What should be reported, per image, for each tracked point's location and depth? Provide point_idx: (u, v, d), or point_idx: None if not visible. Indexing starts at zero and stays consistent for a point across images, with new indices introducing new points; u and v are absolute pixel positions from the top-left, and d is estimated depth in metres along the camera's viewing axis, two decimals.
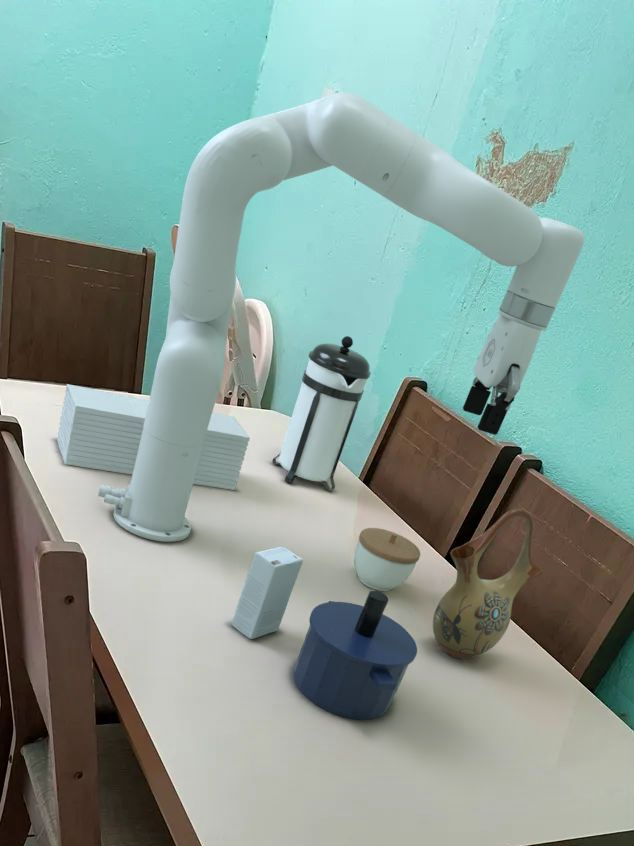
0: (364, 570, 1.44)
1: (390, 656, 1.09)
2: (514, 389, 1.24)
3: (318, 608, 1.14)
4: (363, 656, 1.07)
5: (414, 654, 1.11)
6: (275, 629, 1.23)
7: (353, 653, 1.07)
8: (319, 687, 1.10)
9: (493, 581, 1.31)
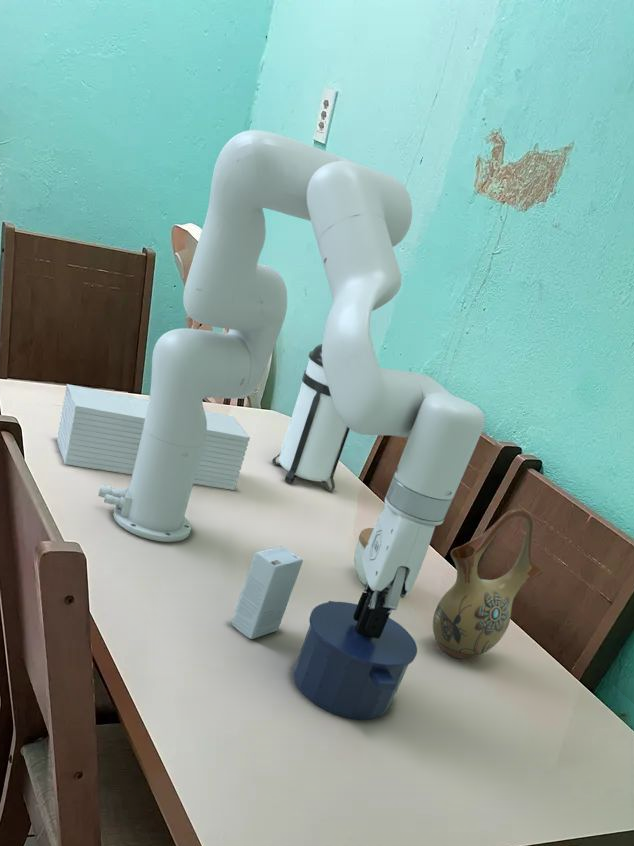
0: None
1: (390, 656, 1.09)
2: (390, 608, 1.04)
3: (318, 608, 1.14)
4: (363, 656, 1.07)
5: (414, 654, 1.11)
6: (275, 629, 1.23)
7: (353, 653, 1.07)
8: (319, 687, 1.10)
9: (493, 581, 1.31)
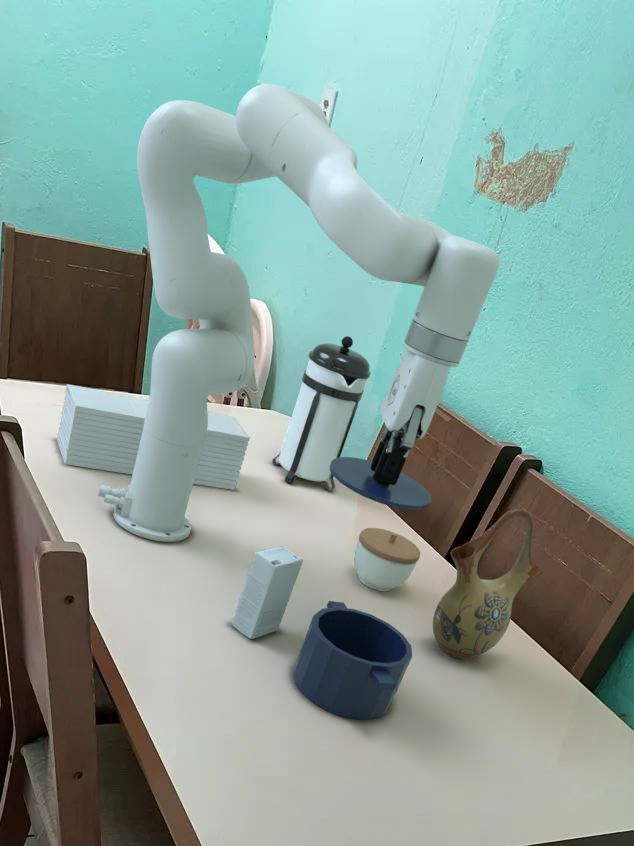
0: (364, 570, 1.44)
1: (406, 500, 1.15)
2: (406, 447, 1.10)
3: (337, 459, 1.20)
4: (380, 496, 1.13)
5: (428, 501, 1.17)
6: (275, 629, 1.23)
7: (371, 493, 1.13)
8: (319, 687, 1.10)
9: (493, 581, 1.31)
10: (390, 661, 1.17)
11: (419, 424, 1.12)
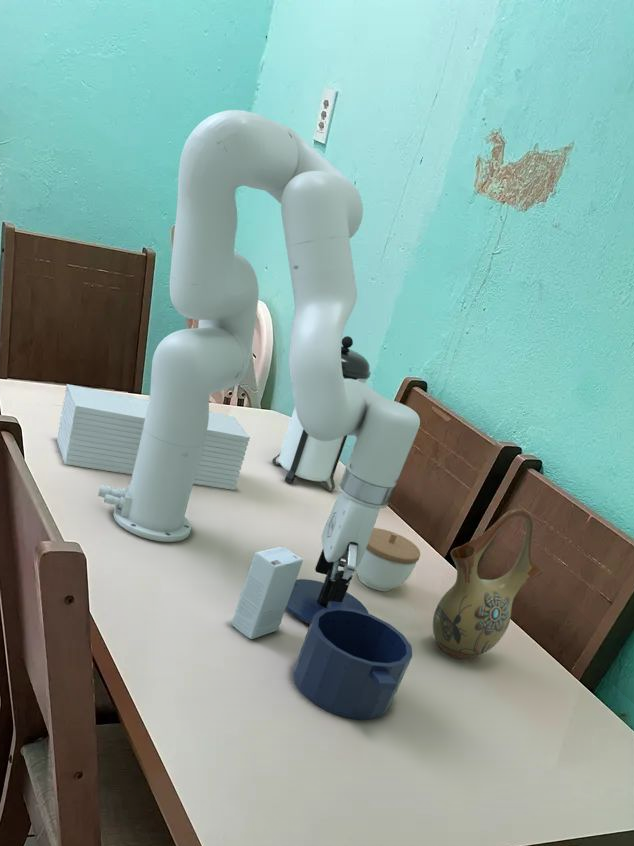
0: (364, 570, 1.44)
1: None
2: (349, 570, 1.22)
3: None
4: None
5: None
6: (275, 629, 1.23)
7: None
8: (319, 687, 1.10)
9: (493, 581, 1.31)
10: (390, 661, 1.17)
11: None
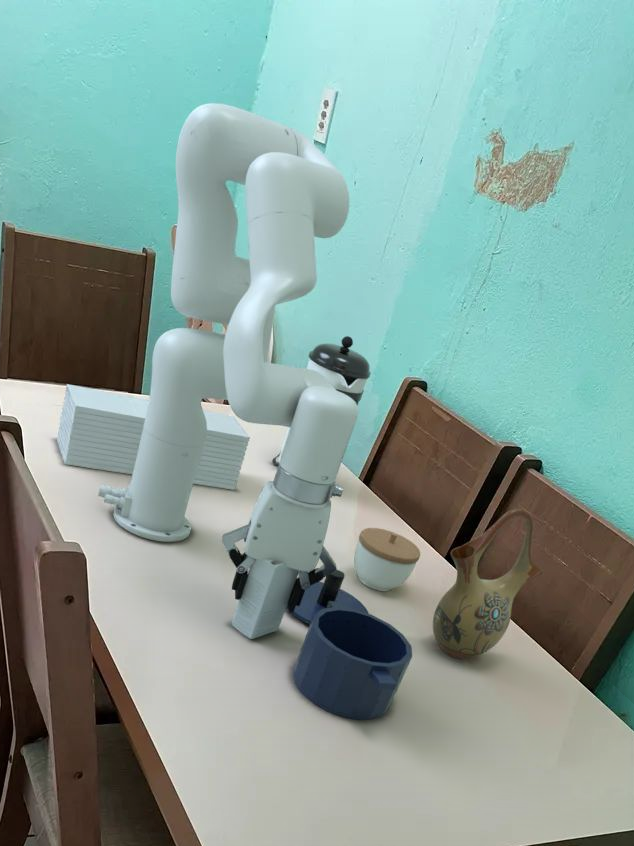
0: (364, 570, 1.44)
1: None
2: None
3: None
4: None
5: None
6: (275, 629, 1.23)
7: None
8: (319, 687, 1.10)
9: (493, 581, 1.31)
10: (390, 661, 1.17)
11: None
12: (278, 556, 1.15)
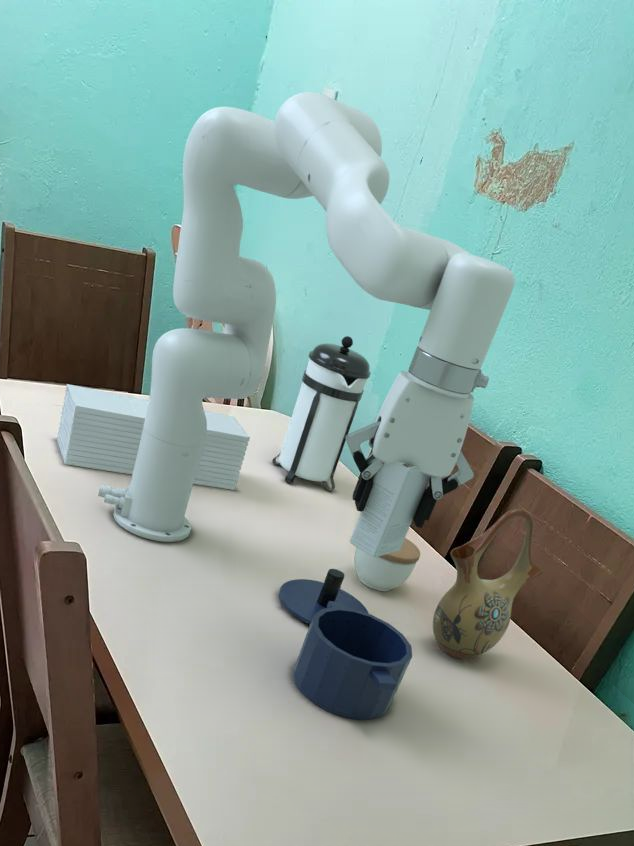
0: (364, 570, 1.44)
1: None
2: None
3: (287, 584, 1.35)
4: None
5: None
6: (397, 549, 1.09)
7: None
8: (319, 687, 1.10)
9: (493, 581, 1.31)
10: (390, 661, 1.17)
11: None
12: (411, 458, 1.00)
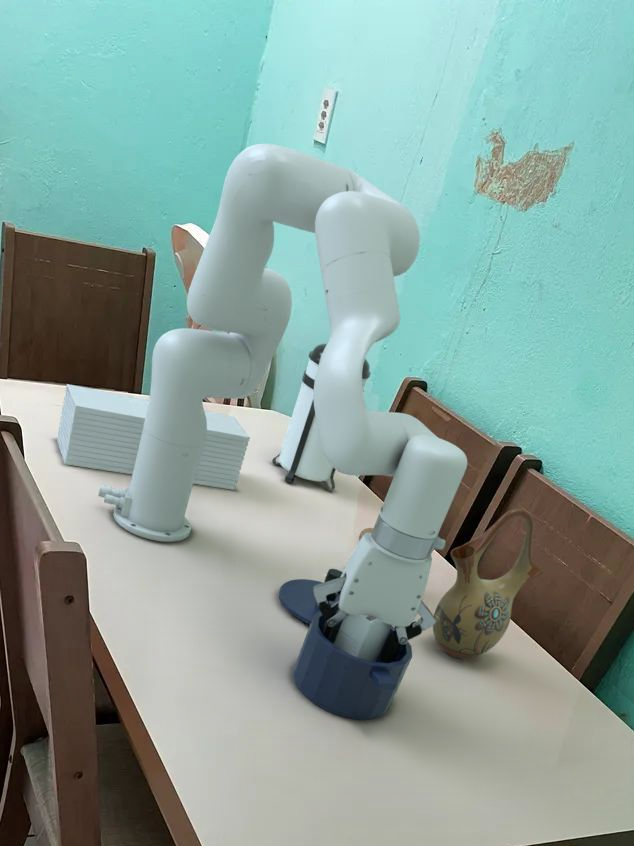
0: None
1: None
2: None
3: (287, 584, 1.35)
4: None
5: None
6: None
7: None
8: (319, 687, 1.10)
9: (493, 581, 1.31)
10: None
11: None
12: (374, 612, 1.08)
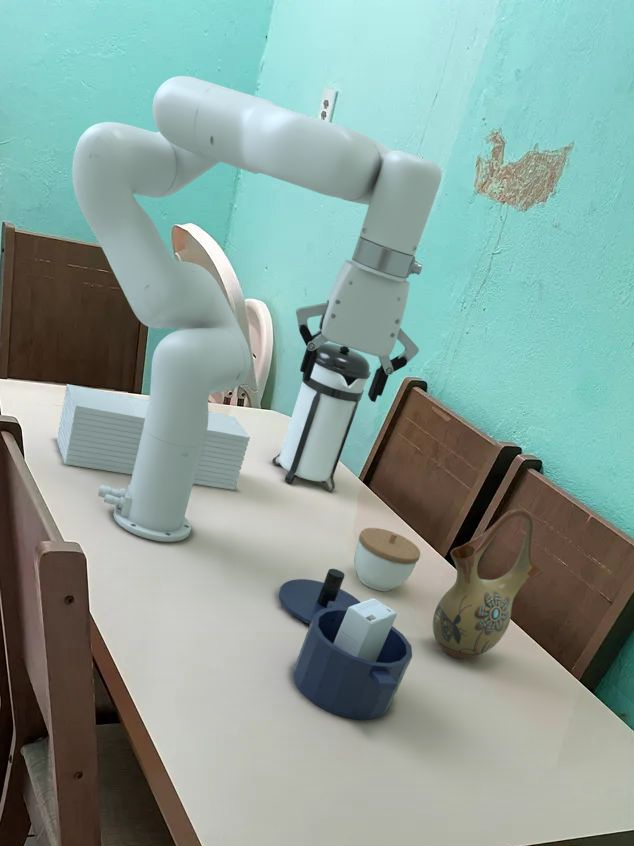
0: (364, 570, 1.44)
1: None
2: None
3: (287, 584, 1.35)
4: None
5: None
6: None
7: None
8: (319, 687, 1.10)
9: (493, 581, 1.31)
10: (390, 661, 1.17)
11: None
12: (355, 337, 1.14)
